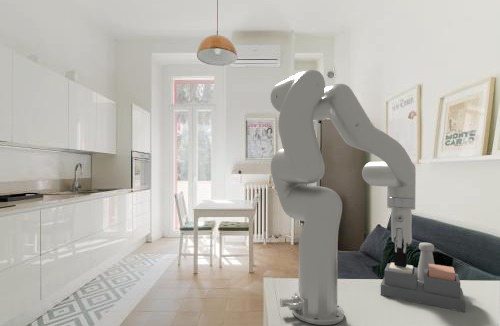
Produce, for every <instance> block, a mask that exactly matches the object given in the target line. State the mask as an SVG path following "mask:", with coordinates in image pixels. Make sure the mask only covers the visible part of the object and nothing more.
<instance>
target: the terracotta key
mask: <svg viewBox="0 0 500 326" xmlns="http://www.w3.org/2000/svg"><path fill="white" fill-rule="evenodd" d="M455 274H456V272H455V268H454V267H453V266H447V265H443V264H442V265H441V264H435V263H434V264H429V277H433V278H439V279H445V280H452V281H455Z"/></svg>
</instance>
